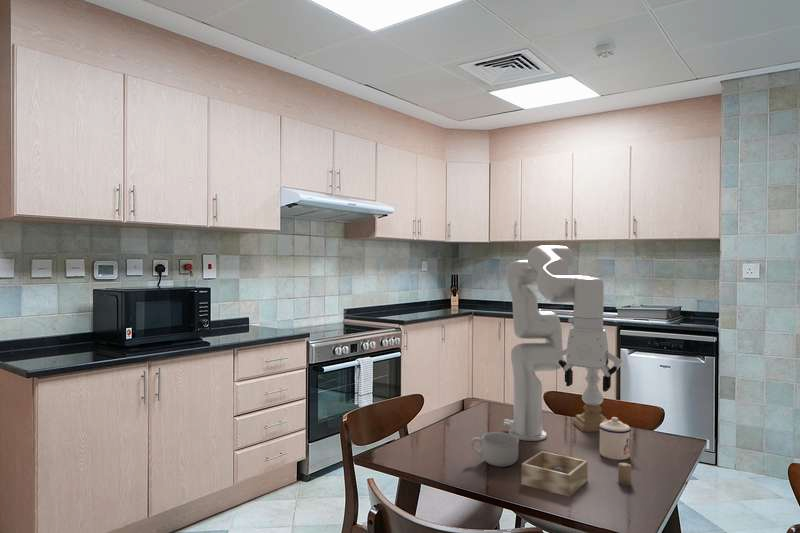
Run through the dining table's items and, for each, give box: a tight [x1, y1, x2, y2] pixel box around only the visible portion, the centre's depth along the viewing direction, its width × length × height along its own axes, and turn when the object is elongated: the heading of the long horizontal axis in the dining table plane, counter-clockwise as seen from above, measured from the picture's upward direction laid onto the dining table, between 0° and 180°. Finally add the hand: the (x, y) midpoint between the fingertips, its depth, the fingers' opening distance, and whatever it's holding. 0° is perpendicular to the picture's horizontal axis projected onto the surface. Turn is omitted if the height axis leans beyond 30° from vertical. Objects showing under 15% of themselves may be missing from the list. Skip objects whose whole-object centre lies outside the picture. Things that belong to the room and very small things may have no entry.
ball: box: [553, 467, 565, 473], centre depth 151 cm, size 3×3×3 cm
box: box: [520, 450, 589, 498], centre depth 149 cm, size 13×13×6 cm
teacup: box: [470, 431, 520, 468], centre depth 164 cm, size 14×11×8 cm
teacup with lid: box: [599, 416, 631, 461], centre depth 173 cm, size 12×9×12 cm
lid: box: [617, 462, 632, 487], centre depth 148 cm, size 14×14×6 cm
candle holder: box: [572, 368, 610, 433], centre depth 201 cm, size 11×11×24 cm
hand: (587, 387), depth 149 cm, fingers open, 9 cm apart
